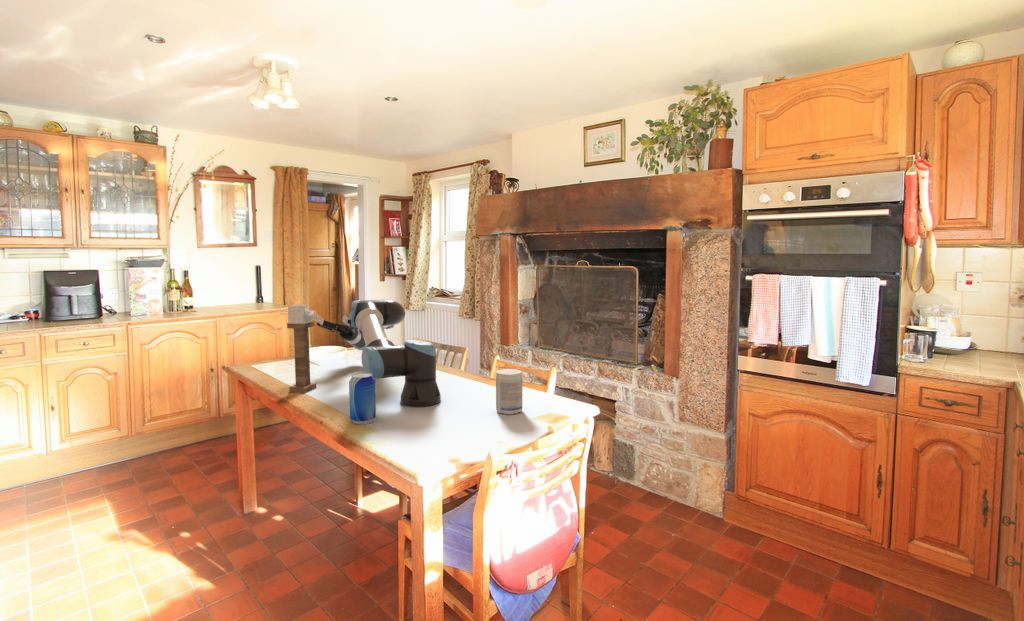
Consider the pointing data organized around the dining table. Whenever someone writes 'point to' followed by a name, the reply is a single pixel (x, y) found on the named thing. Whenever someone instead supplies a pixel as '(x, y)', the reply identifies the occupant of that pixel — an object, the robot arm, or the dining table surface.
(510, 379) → the supplement tub
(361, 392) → the beer can
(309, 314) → the grey block
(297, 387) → the walnut stand
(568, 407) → the dining table surface
